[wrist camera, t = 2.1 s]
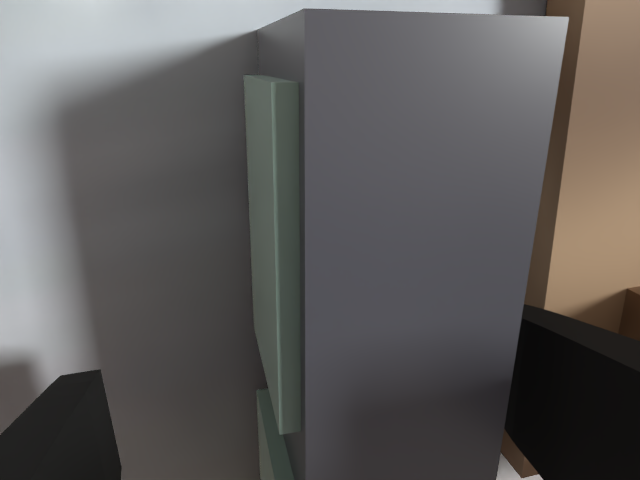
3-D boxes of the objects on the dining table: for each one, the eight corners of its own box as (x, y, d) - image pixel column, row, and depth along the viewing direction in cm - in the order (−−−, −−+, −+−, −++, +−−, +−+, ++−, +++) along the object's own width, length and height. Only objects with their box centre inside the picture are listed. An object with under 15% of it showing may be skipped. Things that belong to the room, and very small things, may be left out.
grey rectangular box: (385, 526, 13) (460, 704, 10) (260, 553, 13) (289, 757, 9) (419, 34, 9) (568, 17, 6) (237, 30, 9) (273, 6, 5)
